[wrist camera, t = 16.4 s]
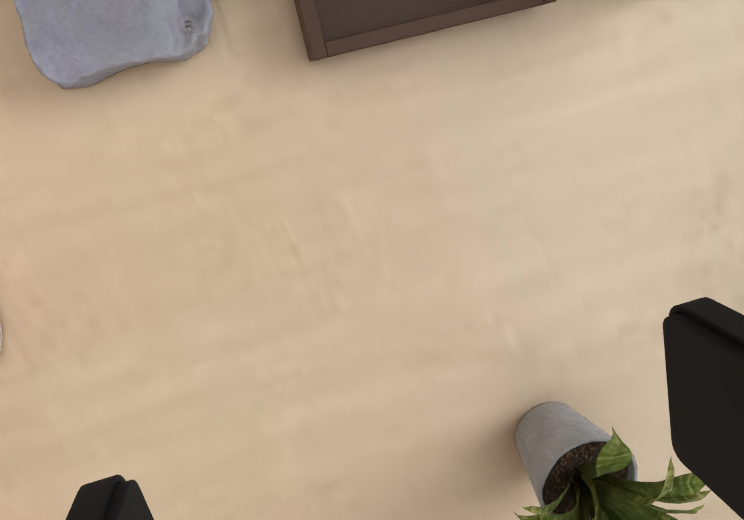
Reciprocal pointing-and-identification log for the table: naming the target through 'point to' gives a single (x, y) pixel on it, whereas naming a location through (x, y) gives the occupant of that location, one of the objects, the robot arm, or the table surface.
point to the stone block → (110, 35)
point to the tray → (388, 20)
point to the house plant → (591, 471)
